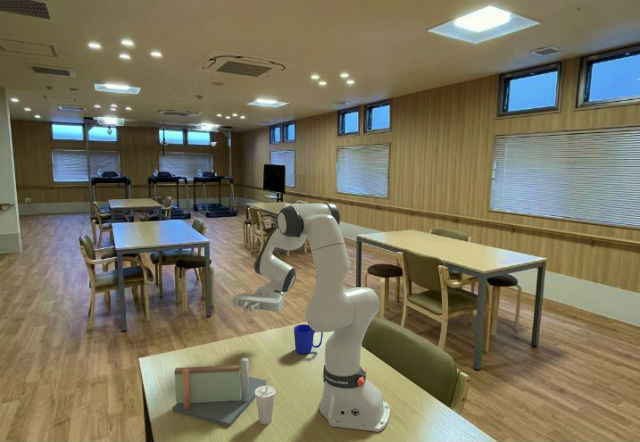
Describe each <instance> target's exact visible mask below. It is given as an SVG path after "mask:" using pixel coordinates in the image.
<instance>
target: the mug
mask: <svg viewBox="0 0 640 442" xmlns="http://www.w3.org/2000/svg"><path fill="white" fill-rule="evenodd" d="M315 333H316V332H315V331H314V330H312V329H311V327H310V326H309V325H308V323H307V324H305V323H304V324H303V323H302V324H297V325H295V326H294V327H293V336H294V348H295V351H296V352H297V353H298V354H301V355H305V354H309V353H310V352H311V351H312V350H313V348H314V349H318V348H320V347H321V345H322V342H323V335H324V332H320V339H319V344H317V345H315V344H314V336H315Z"/></svg>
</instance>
